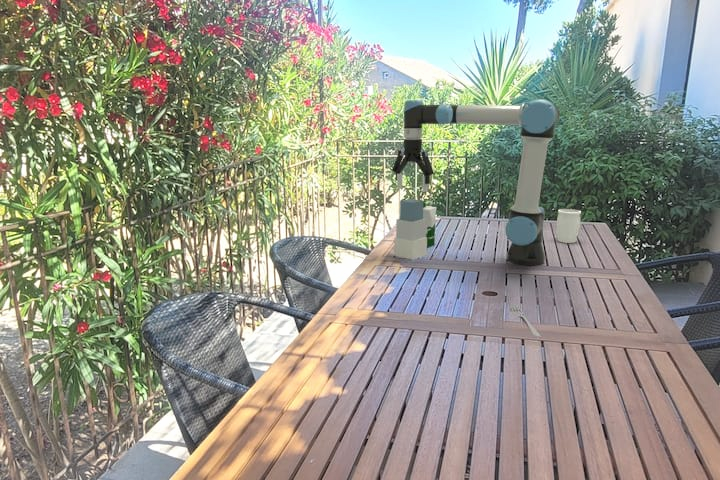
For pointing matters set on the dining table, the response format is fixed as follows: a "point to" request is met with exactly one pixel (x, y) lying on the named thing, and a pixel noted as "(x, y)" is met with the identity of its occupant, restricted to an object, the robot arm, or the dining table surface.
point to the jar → (568, 225)
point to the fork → (525, 320)
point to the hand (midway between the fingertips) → (412, 190)
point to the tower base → (410, 248)
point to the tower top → (411, 229)
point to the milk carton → (429, 223)
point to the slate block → (411, 210)
